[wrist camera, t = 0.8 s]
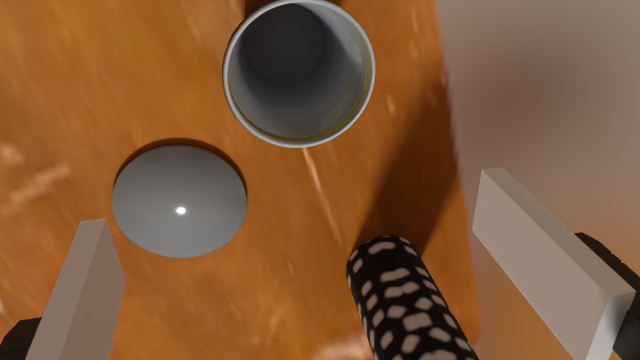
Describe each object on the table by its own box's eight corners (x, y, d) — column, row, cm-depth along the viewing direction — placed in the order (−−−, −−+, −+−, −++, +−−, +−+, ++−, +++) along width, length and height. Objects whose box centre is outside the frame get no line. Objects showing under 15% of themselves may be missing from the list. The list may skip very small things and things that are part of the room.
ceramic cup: (335, 100, 43) (364, 149, 34) (221, 97, 41) (222, 147, 32) (354, -62, 37) (395, -51, 28) (220, -75, 35) (221, -69, 26)
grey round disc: (83, 203, 43) (82, 206, 43) (178, 117, 41) (178, 120, 41) (184, 273, 49) (183, 277, 49) (272, 201, 47) (272, 205, 46)
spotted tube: (388, 303, 57) (462, 474, 40) (331, 280, 53) (384, 457, 36) (432, 251, 54) (532, 412, 37) (374, 224, 51) (454, 387, 34)
